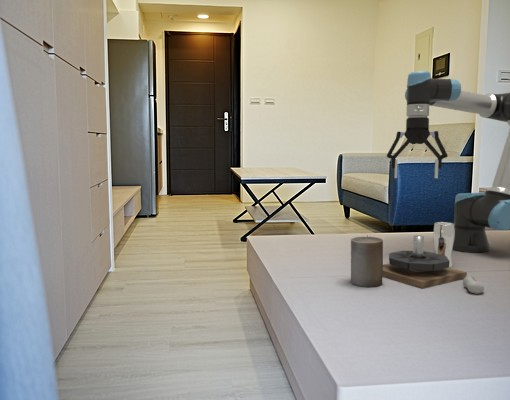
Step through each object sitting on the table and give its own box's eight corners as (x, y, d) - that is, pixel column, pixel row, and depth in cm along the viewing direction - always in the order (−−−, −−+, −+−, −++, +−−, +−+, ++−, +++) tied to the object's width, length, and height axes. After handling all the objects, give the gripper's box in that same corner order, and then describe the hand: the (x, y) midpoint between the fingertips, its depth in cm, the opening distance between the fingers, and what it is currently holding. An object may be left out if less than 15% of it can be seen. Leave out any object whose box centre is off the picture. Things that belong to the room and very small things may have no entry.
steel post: (417, 267, 157) (418, 234, 156) (426, 269, 154) (427, 236, 152) (409, 269, 155) (410, 235, 154) (418, 271, 152) (419, 237, 150)
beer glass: (455, 268, 163) (457, 225, 161) (434, 267, 164) (435, 224, 163) (451, 263, 170) (453, 222, 168) (430, 262, 171) (432, 221, 170)
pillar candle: (383, 279, 150) (384, 233, 148) (381, 288, 140) (381, 238, 139) (352, 277, 153) (352, 231, 151) (348, 286, 144) (348, 237, 142)
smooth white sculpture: (484, 299, 134) (466, 293, 134) (476, 290, 142) (459, 284, 142) (489, 285, 133) (471, 279, 134) (481, 277, 141) (464, 271, 141)
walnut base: (413, 264, 169) (413, 258, 169) (466, 278, 151) (466, 272, 151) (370, 272, 158) (370, 267, 158) (422, 288, 140) (422, 282, 140)
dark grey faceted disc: (414, 254, 166) (414, 248, 166) (459, 265, 151) (460, 258, 151) (377, 261, 157) (377, 255, 157) (422, 273, 142) (422, 266, 141)
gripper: (380, 117, 164) (379, 178, 167) (457, 115, 158) (455, 179, 161) (380, 118, 172) (379, 177, 174) (454, 117, 166) (451, 177, 168)
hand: (415, 178), depth 167 cm, fingers open, 13 cm apart
